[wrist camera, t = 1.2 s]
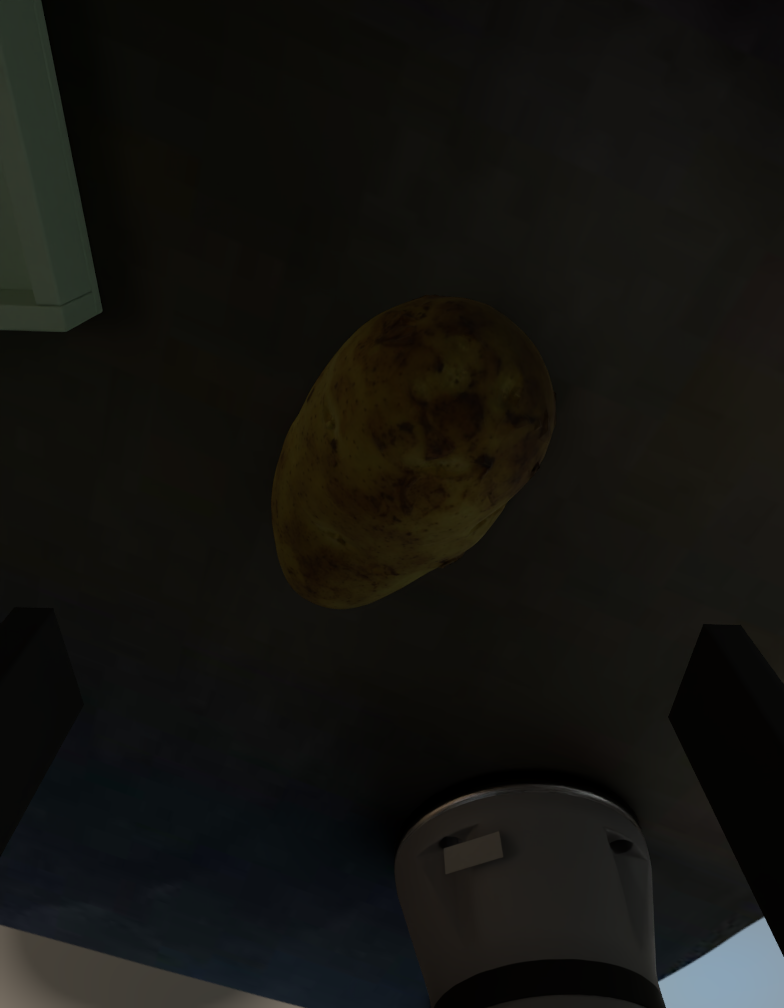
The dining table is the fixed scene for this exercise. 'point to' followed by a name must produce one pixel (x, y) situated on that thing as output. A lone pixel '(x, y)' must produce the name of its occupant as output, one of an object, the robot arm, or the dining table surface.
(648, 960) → the robot arm
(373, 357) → the potato
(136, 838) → the dining table surface
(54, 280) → the tray
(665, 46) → the dining table surface
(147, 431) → the dining table surface
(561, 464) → the dining table surface
